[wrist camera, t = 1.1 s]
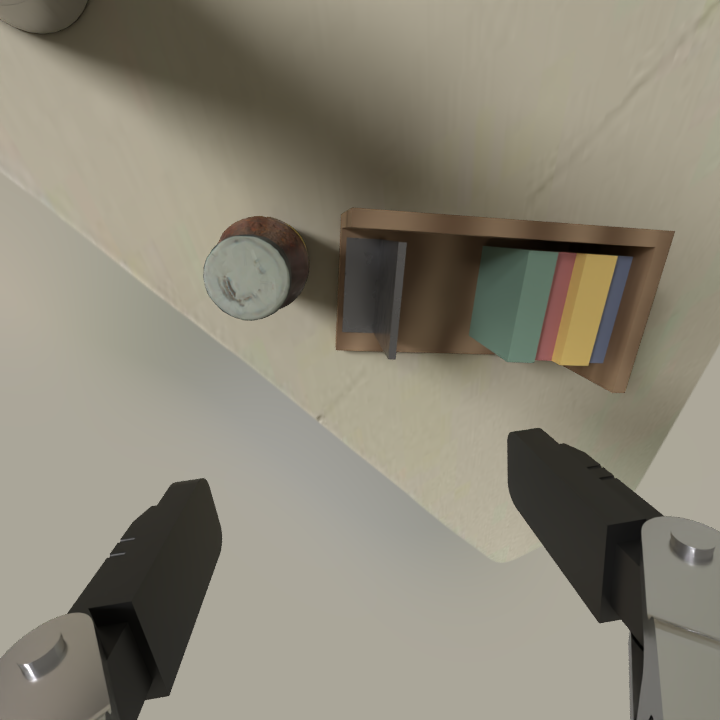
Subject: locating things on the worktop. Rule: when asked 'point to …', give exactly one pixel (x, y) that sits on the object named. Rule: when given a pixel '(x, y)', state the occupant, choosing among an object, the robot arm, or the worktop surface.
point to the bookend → (374, 289)
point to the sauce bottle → (256, 268)
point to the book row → (547, 304)
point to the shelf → (461, 268)
